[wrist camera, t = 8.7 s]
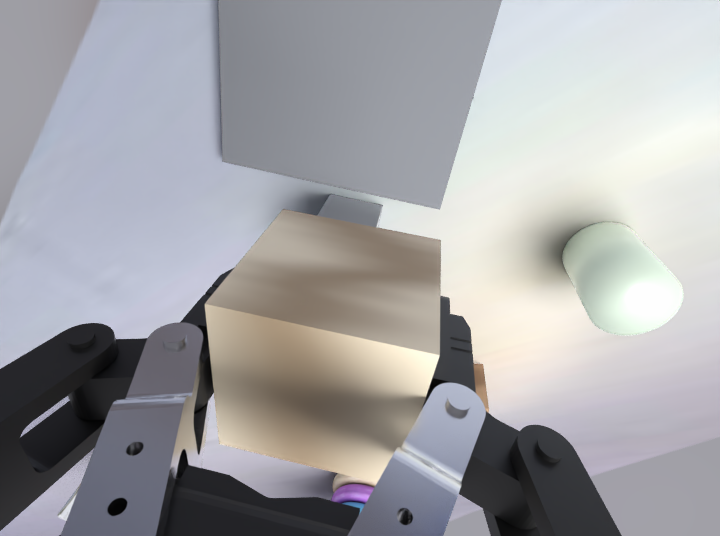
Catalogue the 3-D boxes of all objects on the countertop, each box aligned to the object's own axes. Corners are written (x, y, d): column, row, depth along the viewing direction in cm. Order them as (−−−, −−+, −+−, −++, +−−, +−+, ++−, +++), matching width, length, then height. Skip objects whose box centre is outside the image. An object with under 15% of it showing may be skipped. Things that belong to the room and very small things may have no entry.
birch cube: (440, 240, 12) (439, 354, 8) (408, 356, 15) (395, 487, 11) (283, 209, 13) (204, 303, 8) (279, 327, 15) (219, 443, 11)
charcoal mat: (524, -84, 20) (527, -87, 20) (439, 205, 29) (439, 209, 28) (221, -138, 21) (214, -143, 20) (227, 158, 30) (222, 161, 29)
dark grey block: (382, 204, 30) (373, 235, 26) (369, 271, 33) (359, 307, 29) (330, 193, 30) (312, 222, 26) (322, 260, 33) (305, 295, 29)
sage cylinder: (654, 230, 27) (703, 278, 22) (617, 289, 30) (652, 343, 25) (581, 214, 28) (612, 258, 23) (550, 273, 30) (572, 324, 25)
